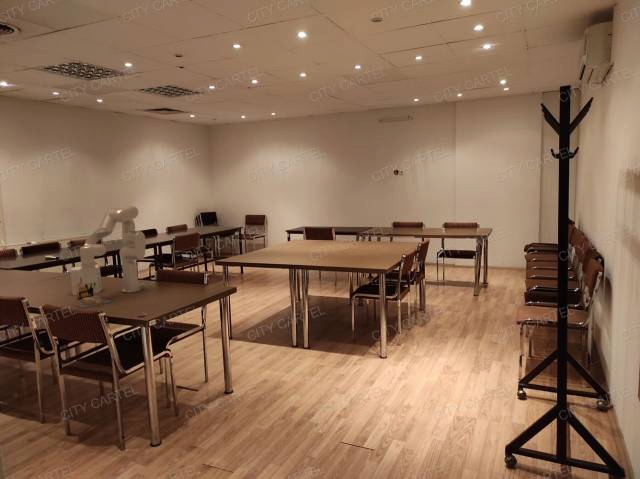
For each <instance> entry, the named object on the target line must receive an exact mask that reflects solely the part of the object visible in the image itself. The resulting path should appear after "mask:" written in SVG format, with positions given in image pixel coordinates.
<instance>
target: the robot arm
mask: <svg viewBox="0 0 640 479" xmlns="http://www.w3.org/2000/svg"><path fill="white" fill-rule="evenodd" d="M138 215H139V209H138V207H136V206H134V205H119V206H116V207H114V209H109V210H107V211H106V212H105V214H104V215H103V217H102V219H101V222H100V224H99V225H98V228H97V229H96V230H94V231H93V232H92V233H91V234H90V235H89V236H88V237H87V238H86V240H85V243H84V244H83V246H81V247H80V248H79V254H80V263H81V266H80V267H82V268H80V283H81V286H84V287H86V288H87V292H88V294H90V295H91V294H93V288H94V286H95V285H96V284H98V283H99V282H98V281H99V278H98V272H97V269H96V267H95V265H98V264H97V262H96V261H95V257H101V256H103V255H105V254H106V253H107V247H106V246H105V245H104V244H100V243H99V244H97V243H98V242H99V241H101V240H102V239H104V238H106V237H109V236H110V235H112V233H113V230H114V228H115V227H116V224H117V223H121V239H122V240H121V242H122V243H123V244H125V245H127V246H123V247H122V248H120V250H119V257H120V260H121V268H122V282H123V288H122V289H121V292H123V293H135V292H138V291H142V287H145V285H146V283H145V282H144V283H143V282H141V283H140V282H139V277H138V266H137V265H138V264H137V262H136V261H141V260H144V258H145V256H146V235H145V233H143V231H140V230H136V223H135V221H134V219H136V218H137V217H138ZM128 245H129V246H128ZM131 245H132V246H131ZM133 245H134V246H133ZM85 284H86V285H85ZM89 284H90V285H89ZM93 295H94V294H93Z"/></svg>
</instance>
